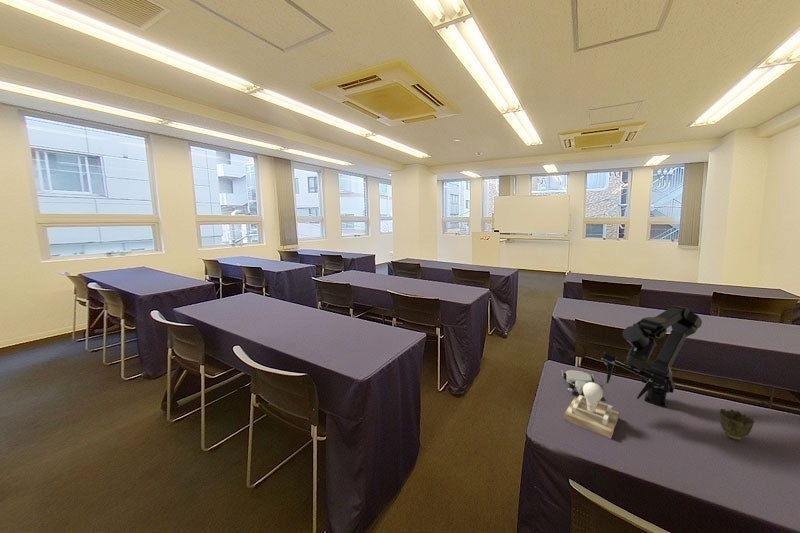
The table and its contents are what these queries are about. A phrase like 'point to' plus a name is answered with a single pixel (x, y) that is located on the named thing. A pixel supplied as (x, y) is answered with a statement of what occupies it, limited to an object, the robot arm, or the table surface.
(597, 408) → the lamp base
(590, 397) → the lightbulb
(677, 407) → the table surface
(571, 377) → the robot toy
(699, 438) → the table surface
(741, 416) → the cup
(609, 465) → the table surface
